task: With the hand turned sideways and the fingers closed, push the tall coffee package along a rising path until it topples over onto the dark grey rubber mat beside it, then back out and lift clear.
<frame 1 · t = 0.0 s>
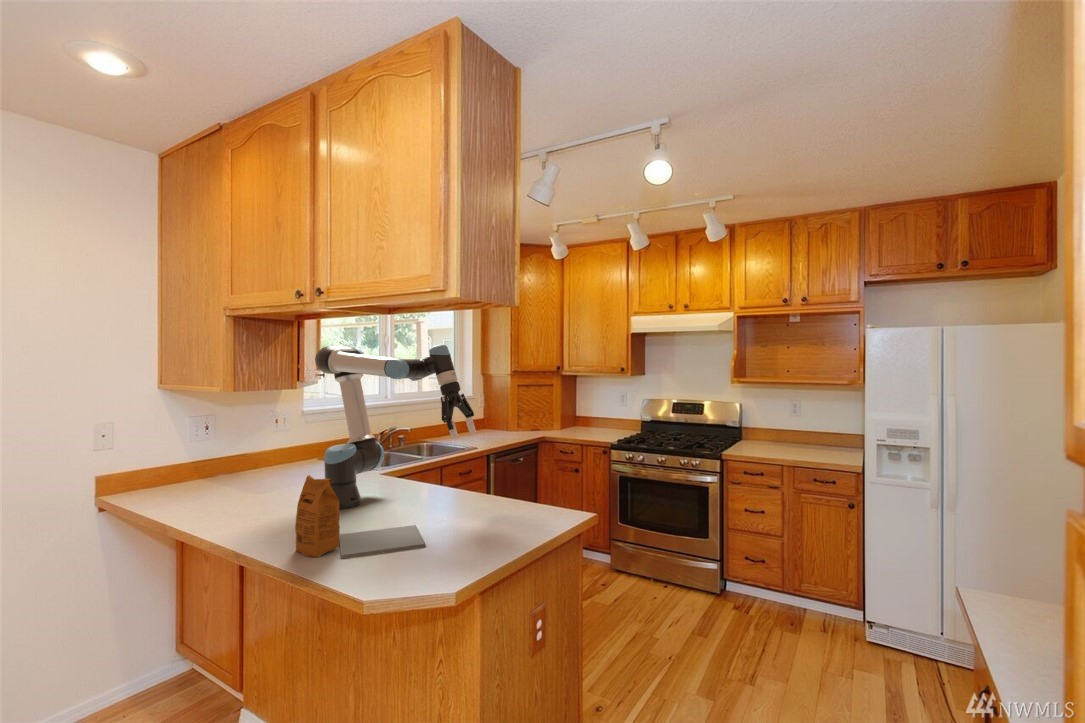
hand: (464, 435, 199), 28 cm above the countertop, tool tilted 20°, fingers open, 13 cm apart
coffee package: (317, 551, 154), on the countertop
topple mat: (381, 542, 161), on the countertop
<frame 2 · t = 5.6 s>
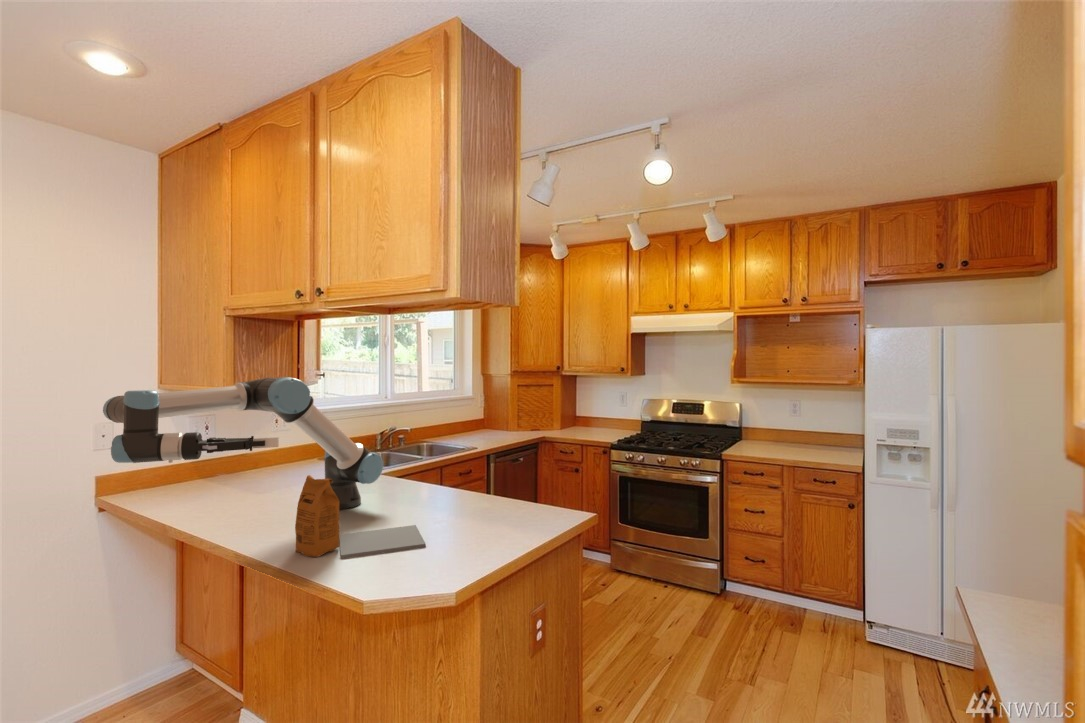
hand: (278, 442, 152), 33 cm above the countertop, tool horizontal, fingers closed
nothing on the countertop moved.
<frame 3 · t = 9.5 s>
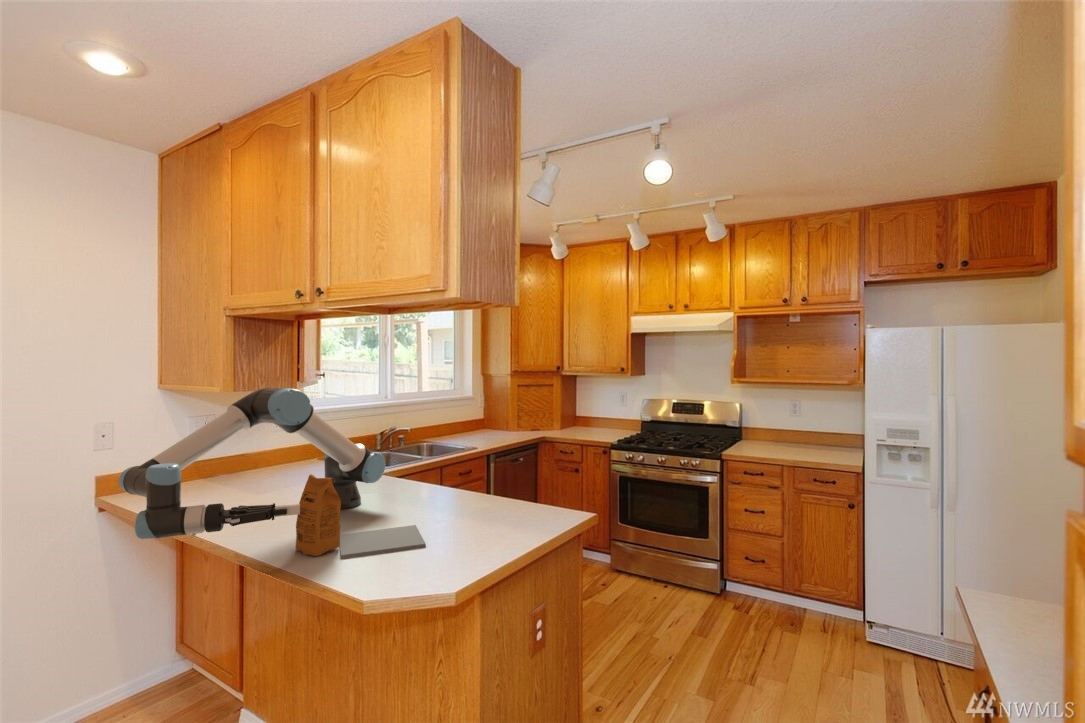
hand: (299, 508, 152), 13 cm above the countertop, tool horizontal, fingers closed
nothing on the countertop moved.
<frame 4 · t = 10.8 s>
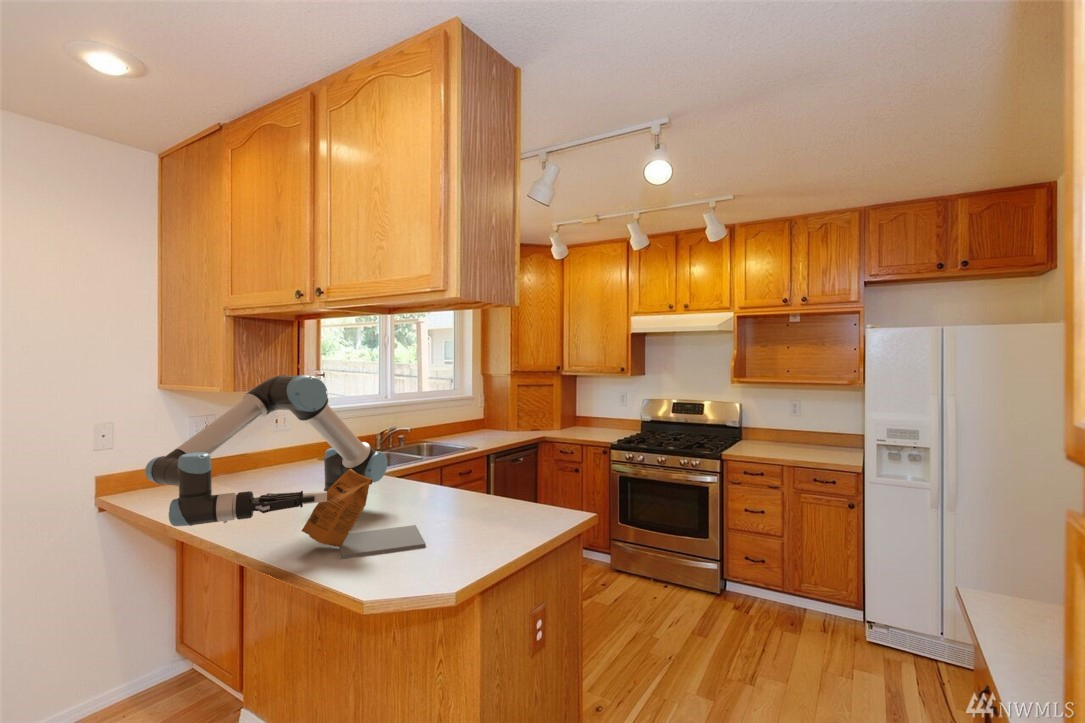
hand: (326, 496, 155), 16 cm above the countertop, tool horizontal, fingers closed
coffee package: (319, 540, 154), point 3 cm above the countertop, touching gripper, topple mat
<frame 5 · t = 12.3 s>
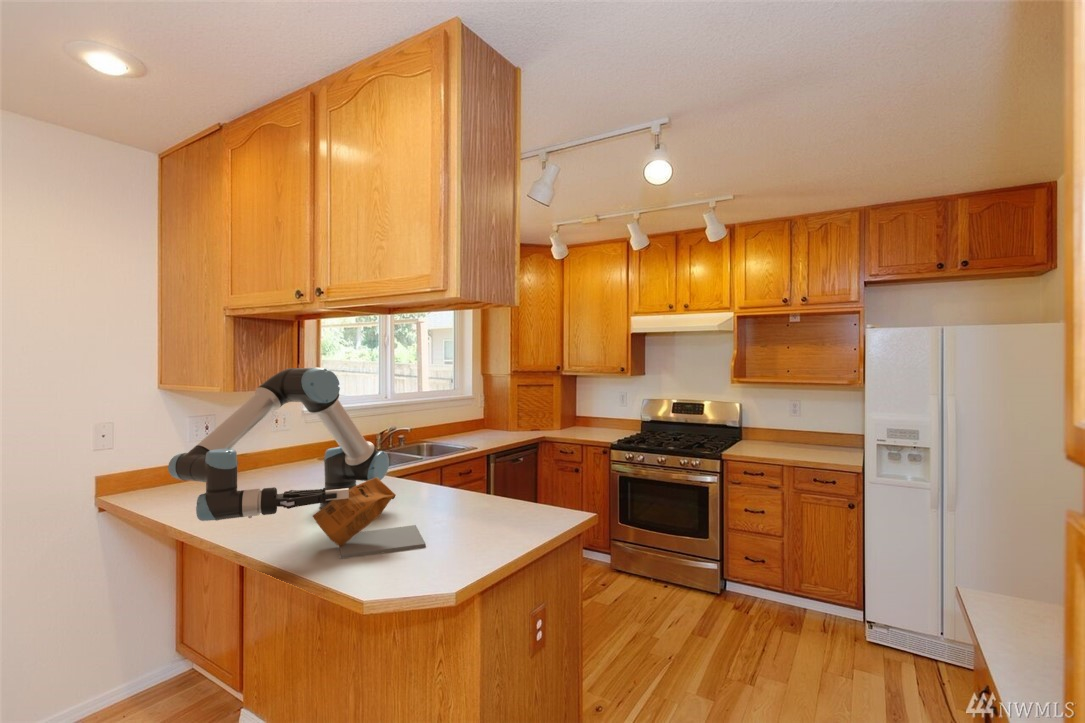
hand: (348, 493, 158), 16 cm above the countertop, tool horizontal, fingers closed
coffee package: (324, 532, 155), point 5 cm above the countertop, touching gripper, topple mat
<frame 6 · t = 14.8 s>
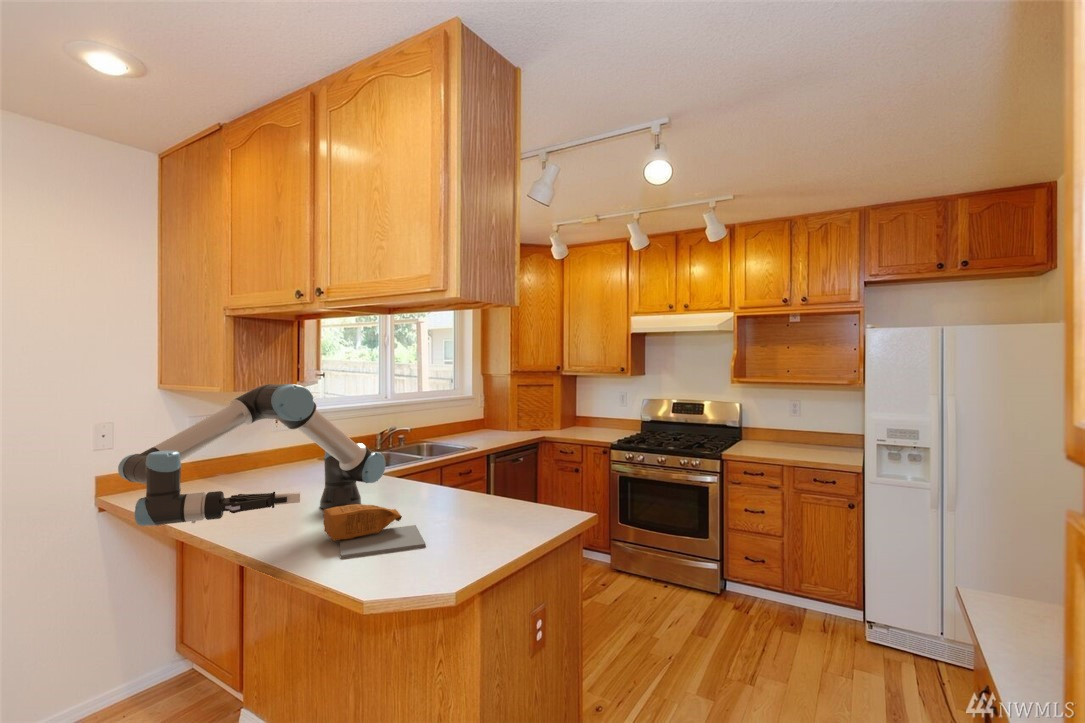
hand: (299, 497, 152), 16 cm above the countertop, tool horizontal, fingers closed
coffee package: (325, 525, 161), point 6 cm above the countertop, touching topple mat
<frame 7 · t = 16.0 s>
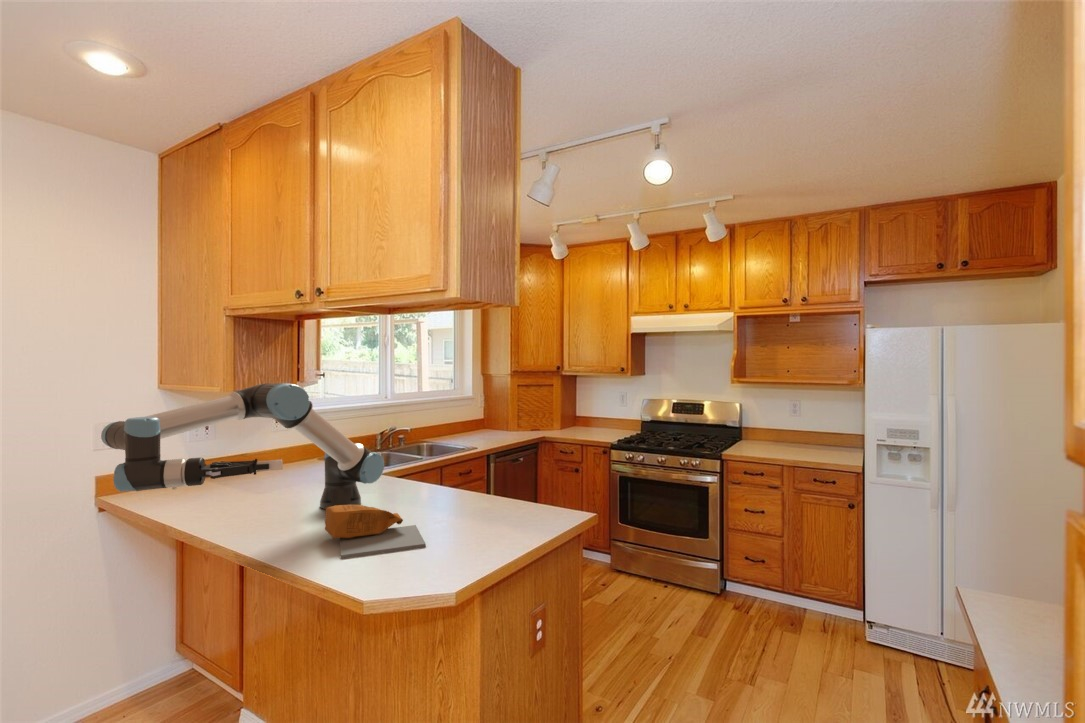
hand: (282, 464, 151), 26 cm above the countertop, tool horizontal, fingers closed
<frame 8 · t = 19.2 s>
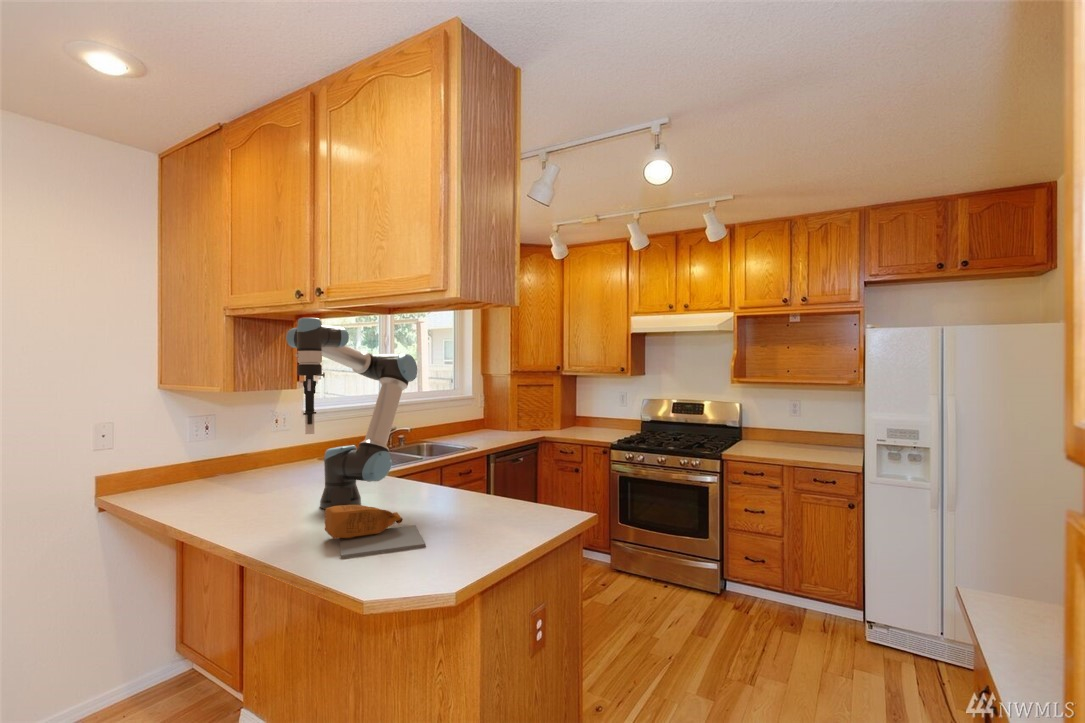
hand: (309, 433, 174), 32 cm above the countertop, tool pointing down, fingers closed
nothing on the countertop moved.
at the end: coffee package tilted 94°; coffee package touching topple mat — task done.
